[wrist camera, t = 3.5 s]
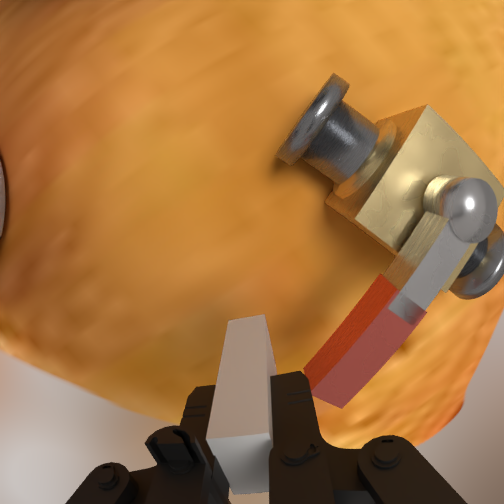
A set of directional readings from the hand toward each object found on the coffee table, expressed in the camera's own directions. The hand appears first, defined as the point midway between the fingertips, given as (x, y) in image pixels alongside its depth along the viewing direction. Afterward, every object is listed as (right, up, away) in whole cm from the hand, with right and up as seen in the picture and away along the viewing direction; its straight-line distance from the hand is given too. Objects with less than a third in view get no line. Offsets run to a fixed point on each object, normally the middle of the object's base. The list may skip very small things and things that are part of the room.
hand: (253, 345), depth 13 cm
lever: (+8, +2, +4) cm, 9 cm away
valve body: (+11, +9, +10) cm, 17 cm away
